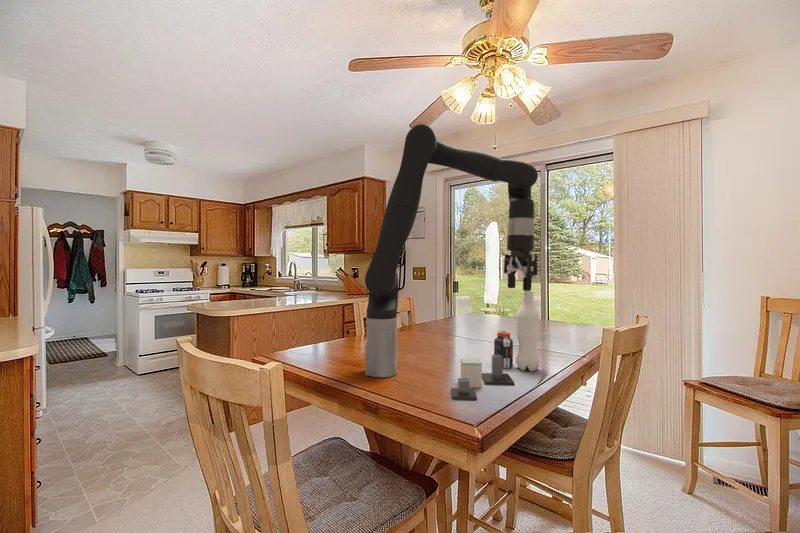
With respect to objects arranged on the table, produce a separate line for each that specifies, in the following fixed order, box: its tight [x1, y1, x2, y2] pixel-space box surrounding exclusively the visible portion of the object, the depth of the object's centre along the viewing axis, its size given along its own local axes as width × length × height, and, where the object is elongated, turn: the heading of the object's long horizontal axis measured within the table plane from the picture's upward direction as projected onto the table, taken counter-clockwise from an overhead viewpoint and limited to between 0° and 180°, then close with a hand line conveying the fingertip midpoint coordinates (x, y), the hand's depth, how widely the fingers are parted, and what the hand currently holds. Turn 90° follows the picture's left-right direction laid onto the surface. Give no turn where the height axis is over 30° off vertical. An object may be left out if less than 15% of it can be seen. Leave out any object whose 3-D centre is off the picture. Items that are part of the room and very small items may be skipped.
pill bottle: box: [493, 330, 514, 369], centre depth 123 cm, size 6×6×11 cm
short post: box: [450, 377, 478, 401], centre depth 96 cm, size 6×6×4 cm
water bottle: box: [515, 290, 541, 372], centre depth 120 cm, size 7×7×25 cm
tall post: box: [482, 354, 515, 386], centre depth 108 cm, size 8×8×7 cm
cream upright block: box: [460, 357, 483, 388], centre depth 105 cm, size 5×5×7 cm
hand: (518, 289), depth 111 cm, fingers open, 8 cm apart
